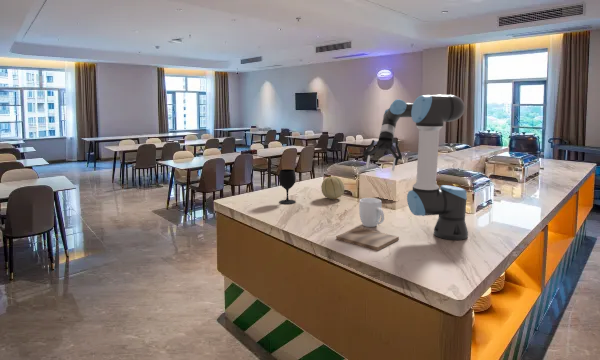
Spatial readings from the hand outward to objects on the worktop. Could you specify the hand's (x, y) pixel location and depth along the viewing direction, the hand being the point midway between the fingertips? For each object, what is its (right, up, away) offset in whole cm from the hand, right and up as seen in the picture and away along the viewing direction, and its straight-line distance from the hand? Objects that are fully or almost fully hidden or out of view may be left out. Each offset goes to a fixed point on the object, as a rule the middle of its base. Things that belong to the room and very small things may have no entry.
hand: (379, 168), depth 219 cm
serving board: (-11, -33, -26) cm, 43 cm away
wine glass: (-49, -20, +42) cm, 68 cm away
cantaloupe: (-20, -18, +50) cm, 57 cm away
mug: (-5, -29, -5) cm, 30 cm away
